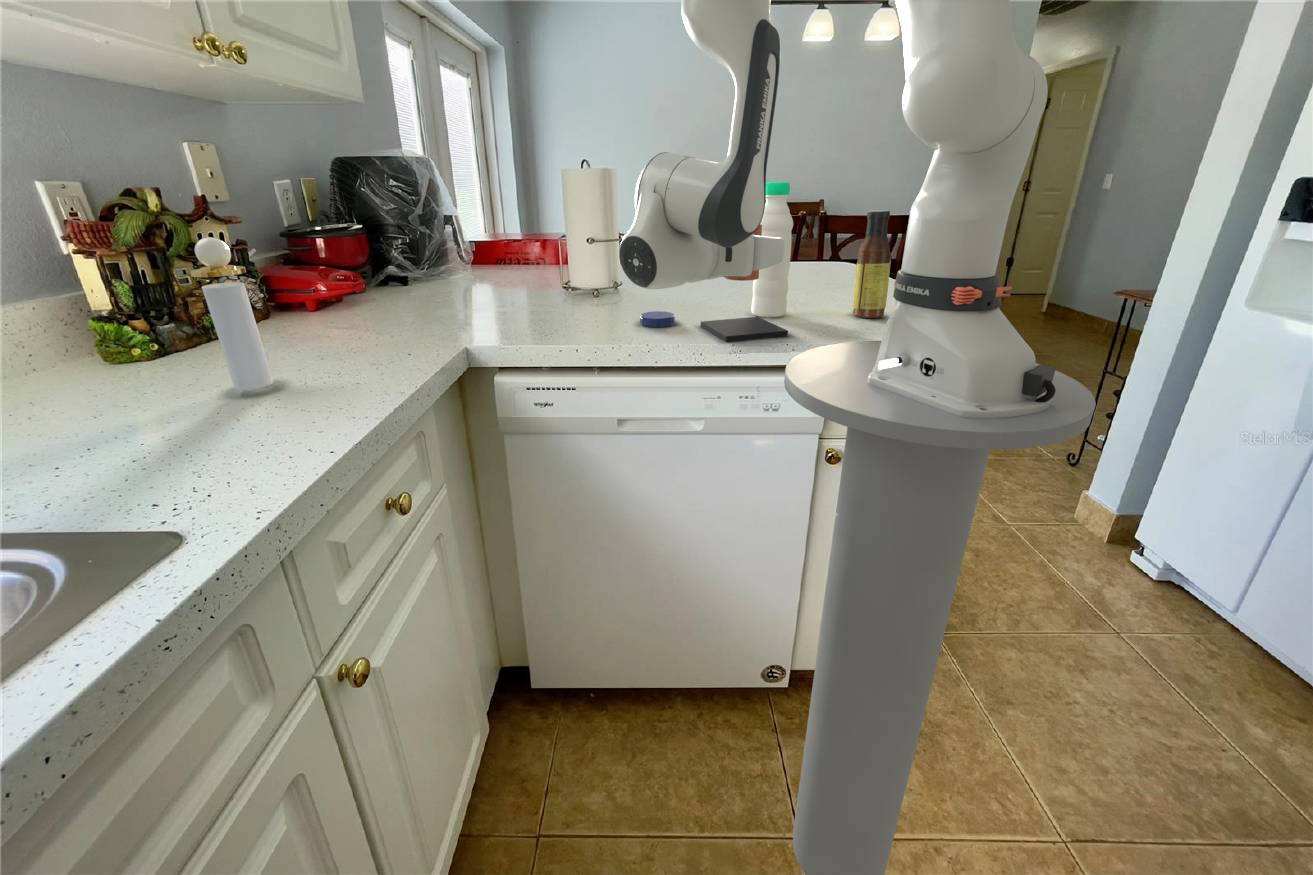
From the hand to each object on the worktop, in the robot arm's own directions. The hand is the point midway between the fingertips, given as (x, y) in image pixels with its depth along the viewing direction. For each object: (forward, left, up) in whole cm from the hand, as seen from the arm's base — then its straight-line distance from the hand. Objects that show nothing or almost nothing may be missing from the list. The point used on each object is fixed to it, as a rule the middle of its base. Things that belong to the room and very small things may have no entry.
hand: (746, 243), depth 102 cm
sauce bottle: (+3, -29, -15) cm, 33 cm away
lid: (+11, +13, -14) cm, 22 cm away
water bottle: (+11, -11, -15) cm, 22 cm away
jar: (0, +1, -6) cm, 6 cm away
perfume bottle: (-7, +77, -15) cm, 79 cm away
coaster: (0, 0, -15) cm, 15 cm away
